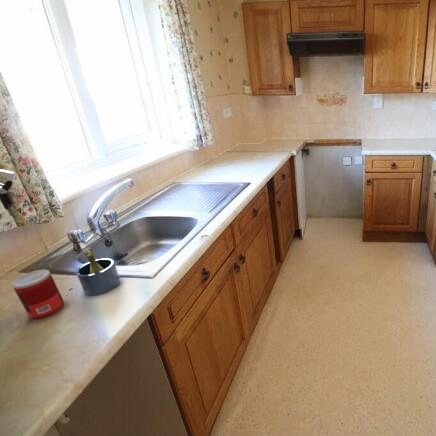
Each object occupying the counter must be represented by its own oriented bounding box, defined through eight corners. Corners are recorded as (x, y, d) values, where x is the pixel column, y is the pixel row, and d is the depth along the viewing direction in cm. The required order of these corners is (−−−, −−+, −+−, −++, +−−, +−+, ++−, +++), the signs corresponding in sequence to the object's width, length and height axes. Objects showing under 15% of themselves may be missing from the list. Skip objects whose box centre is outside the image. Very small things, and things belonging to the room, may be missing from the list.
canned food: (71, 301, 94) (56, 270, 89) (45, 320, 87) (27, 287, 82) (49, 299, 95) (33, 268, 91) (22, 318, 88) (3, 285, 84)
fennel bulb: (98, 279, 102) (84, 247, 97) (114, 277, 103) (102, 245, 98) (90, 290, 97) (75, 257, 92) (107, 288, 98) (94, 254, 93)
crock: (82, 299, 95) (73, 279, 92) (86, 282, 102) (78, 264, 99) (119, 288, 99) (112, 269, 96) (121, 273, 106) (114, 255, 103)
